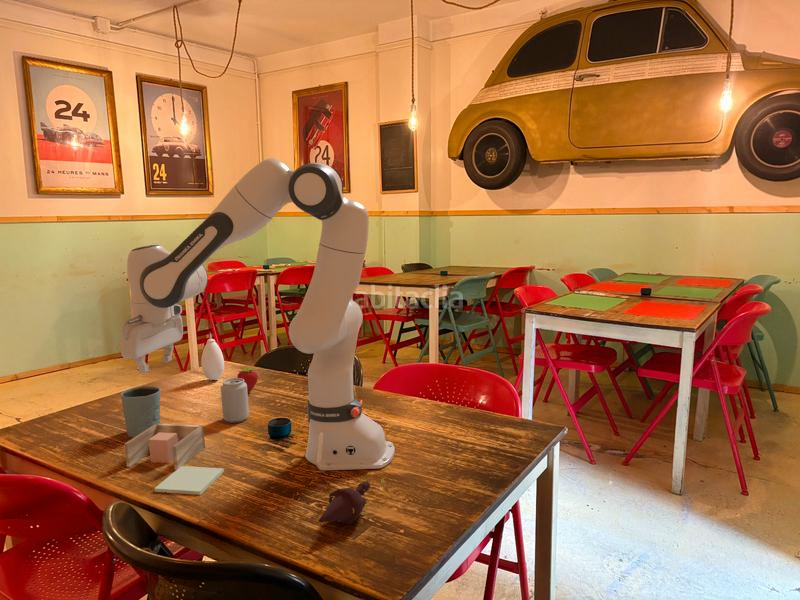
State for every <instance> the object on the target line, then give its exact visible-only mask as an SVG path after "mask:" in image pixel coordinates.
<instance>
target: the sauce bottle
mask: <svg viewBox="0 0 800 600" xmlns="http://www.w3.org/2000/svg"><path fill="white" fill-rule="evenodd" d="M206 341H207V342H206V344H205V345H204V348H203V351H202V354H201V359H200V360H201V361H200V362H201V368H202V369H201V370H202V372H203V375H204V376H205V378H206V379H208V380H210V381H212V380H216V381H217V380H219V379H220V378H221V377H222V376H223V374H224V371H225V360H224V355H223V352H222V349H221V348H220V346H219V345H218V343H217V342H216V340H215V339H213V338H212V333H211V332H209V339H207V340H206Z"/></svg>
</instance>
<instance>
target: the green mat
mask: <svg viewBox="0 0 800 600" xmlns="http://www.w3.org/2000/svg"><path fill="white" fill-rule="evenodd" d="M224 472H225V468H221V467H219V468H218V467H205V466H204V467H203V466H202V467H201V466H185V465H183V466H181V467H180V468H178V469H177V470H174V472H172V473H171V474H170V475H168V476H167V477H166V478H165V479H163V481H161V482H160V483H159V484H158V485H157V486H155V487H154V492H155V493H165V492H166V493H167V494H169V493H170V494H182V495H183V494H184V495H197V496H198V495H199V496H200V495H203V493H204V492H205V491H206V490H207V489H208V488H209V487H210V486H211V485H213V483H214V482H215V481H216V480H217V479H218V478H220V476H221V475H222V474H223V473H224Z"/></svg>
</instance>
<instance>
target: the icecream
mask: <svg viewBox="0 0 800 600" xmlns="http://www.w3.org/2000/svg"><path fill="white" fill-rule="evenodd" d="M370 487H371V484H370V482H369V481H367V480H365V481H361V482H360V483H359V484H358V485H357V487H356V489H354V488H352V487H345V488H337V489H335V490H334V491H333V492H331V493H330V494H329V495H328V497H329V498H328V503H329V505H328V506H327V507H326V509H325V510H324V512H323V513H322V515H321V516H320V517H319V519H318V523H326V522H338V521H340V522H344V523H346V524H345V525H347V524H350V525H352V523H354V522H355V521H357V520H358V518H359V517H360V515H361V513H362V511H363V509H364V507H365V506H366V502H367V499H366V498H365V497H362V496H364V494H365V493H366V492H368V490H369V489H370ZM340 522H339V523H340ZM344 523H343V524H344Z"/></svg>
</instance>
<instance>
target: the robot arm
mask: <svg viewBox="0 0 800 600" xmlns="http://www.w3.org/2000/svg"><path fill="white" fill-rule="evenodd" d="M342 178H343V177H342V176H341V175H340V173H339V172H338V171H337V169H335V168H334V167H332V166H330V165H328V164H326V163H323V162H310V163H309V162H308V163H306V164H303V165H300V166H299V167H297V168H296V169H292V168H290V167H289V166H288V165H287V164H285V163H284V162H283V161H281V160H279V159H275V158H265V159H264V160H262V161H260V162H259V163H257V164H256V165H255V166H254V167H252V168H251V169H250V170H249V171H247V172H246V173H245V175H243V176H242V177H241V178H240V179H239V181H237V183H235V184H234V185H233V187H232V188H231V189H230V190H229V192H228V193H227V194H226V195H225V196H224V197H223V199H222V200H221V201H220V202H219V203H218V205H217V206H215V208H214V210H213V211H211V213H210V214H209V215H207V217H206V218H205V219H204V221H203V222H201V223H200V224H199V225H198V226H197V227H196V228H195V229H194V230H193V231H192V232H191V233H190V234H189V235H188V236H187V237H186V238H185V239H183V241H182V242H181V243H180V244H179V245H178V246H177V247H176V248H175V249H174V250H173V251H172V252H171V251H170V250H167V249H166V248H165V247H163V245H159V244H152V245H145V246H139V247H135V248H133V249H131V251H129V253H128V255H127V261H126V262H127V263H126V267H127V269H126V272H127V284H128V287H129V289H130V297H129V305H130V318H128V319H126V321H124V324H123V326H122V329H121V333H120V354H121V357H122V358H123V359H125V360H127V359H128V360H133V361H134V363H135V364H136V366H137V368H138V373H139V374H142V375H144V374H147V373H149V371H150V366H149V364H147V363H146V361H145V360H146V355H149V354H151V353H153V352H156V351H158V350H161V349H163V355H161V359H162V360H161V362H162V363H163V364H164V363H165V364H166V363H167V364H168V363H170V362H172V361H173V359H172V354H173V351H174V349H175V348H174V344H175V343H177V342H180V341H181V340H182V339H183V337H184V336H183V335H184V327H183V326H184V324H183V318H182V315H181V314H182V313H183V307H182V305H180V304H178V303H180V302H183V301H186V300H188V299H191V298H194V297H196V296H198V295H199V294H201V293H202V292H203V291H204V290H205V289H206V288H207V285H208V283H209V281H208V279H209V278H208V273H207V270H206V268H205V267H204V264H205V263H206V262H207V260H209V259H210V258H211V257H212V256H213V255H214V254H216V252H218V251H219V250H220V249H222V248H223V247H226V246H228V245H230V244H233V243H236V242H237V241H241V240H244V239H247V238H250V237H252V236H253V235H255V234H256V233H257V232H259V231H261V230H262V229H263V228H264V227H265V226H266V225H268V224H269V222H270V221H271V220H272V219H273V218H274V217H275V216H276V215H277V214H278V213H279V212H280V210H282V209H283V207H285V206H286V205H288V204H290V203H293V205H295V207H297V209H300V211H303V212H304V213H306V214H309V215H310V216H312V217H314V218H315V219H317V220H319V221H321V233H320V239H319V244H318V249H317V253H316V260H315V265H314V269H313V274H312V277H311V280H310V283H309V286H308V288H307V291H306V293H305V296H304V298H303V300H302V302H301V305H300V307H299V309H298V312H297V313H296V314H295V316H293V318H292V320H291V321H290V324H289V327H288V336H289V340H290V341H291V344H292V345H293V347H294V348H295V349H297V351H300V352H301V353H304V354H308V355H309V354H311V355H312V354H313V356H312V360H311V363H310V365H309V366H308V370H307V386H308V400H307V407H306V408H307V410H306V411H307V413H306V414H307V418H308V419H307V420H308V421H307V422H308V423H309V429H308V431H309V432H308V441H307V446H306V451H305V454H304V456H305V459H306V460H307V461H308V462H309V463H312V464H313V465H315V466H316V468H318V470H319V471H340V470H341V471H343V470H345V471H346V470H347V471H348V470H370V469H371V470H372V469H382V468H385V467H386V466H387V465H388V464H390V463H391V462H392V461H393V459H394V457H395V452H396V449H395V445H394V443H393V442H391V441H388V440H386V436H385V432H384V431H385V430H384V429H383V426H381V425H380V424H379V423H377V422H376V421H374V420H373V419H371V418H370V417H369V416H368V415H366V414H364V413H363V399H360V401H359V400H358V399H356V398H355V397H354V362H355V355H356V349H357V343H358V342H357V341H358V337H359V332H360V328H361V326H362V324H363V319H364V318H363V317H364V315H363V311H362V308H361V307H360V305H359V303H357V302H356V301H354V300H353V299H352V297H353V295H354V293H355V291H356V289H358V286H359V285H360V282H361V278H362V271H363V267H364V261H365V258H366V251H367V245H368V239H369V228H370V227H369V223H370V220H369V219H370V216H369V211H368V209H367V208H366V206H364V205H363V204H361V203H360V202H358V201H355V200H352V199H348V198H347V197H345V195H344V181H343V179H342Z"/></svg>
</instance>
